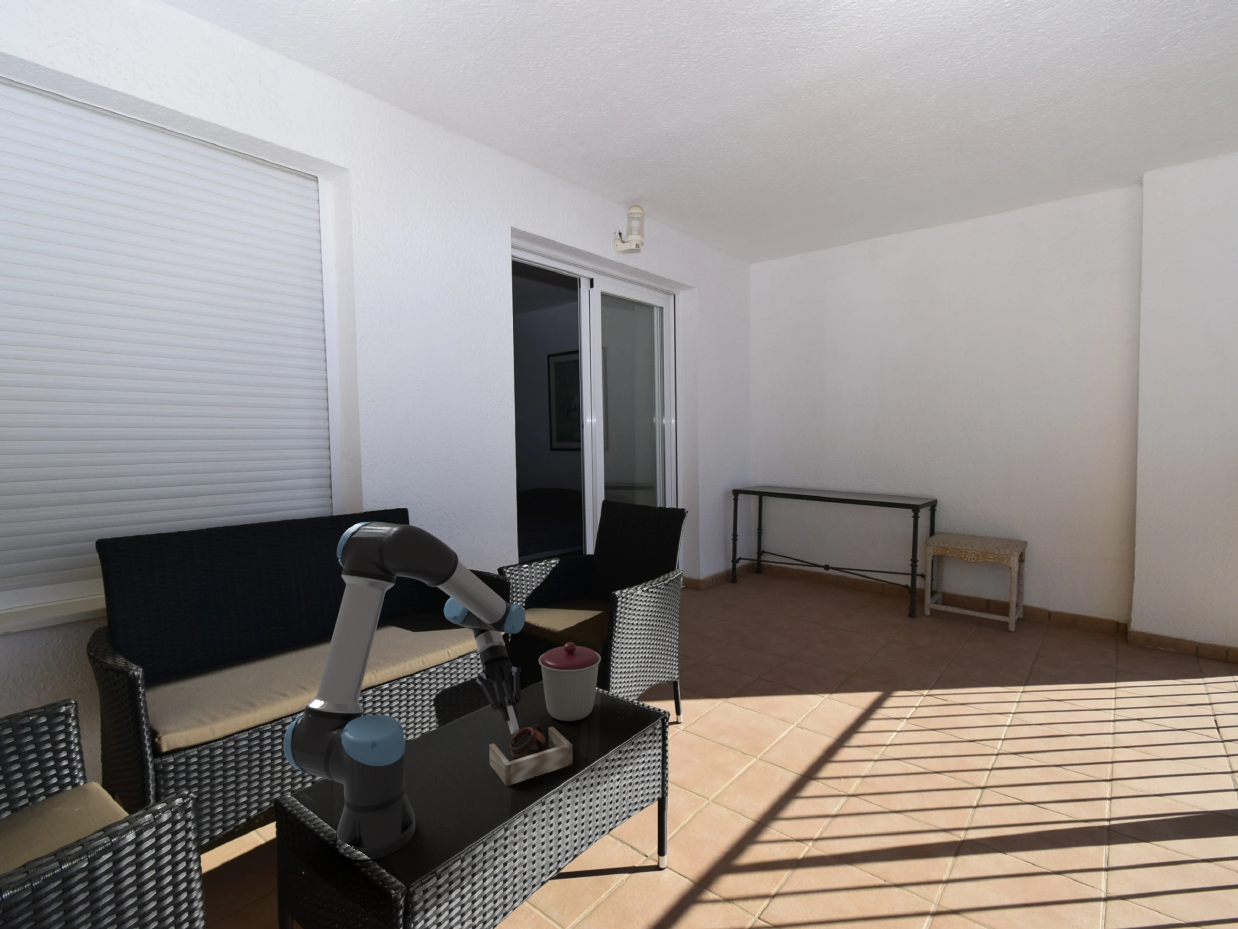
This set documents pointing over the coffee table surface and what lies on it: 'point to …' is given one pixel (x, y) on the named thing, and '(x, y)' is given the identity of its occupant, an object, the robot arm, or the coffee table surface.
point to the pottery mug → (528, 741)
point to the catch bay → (533, 760)
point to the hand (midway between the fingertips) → (515, 731)
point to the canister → (569, 681)
